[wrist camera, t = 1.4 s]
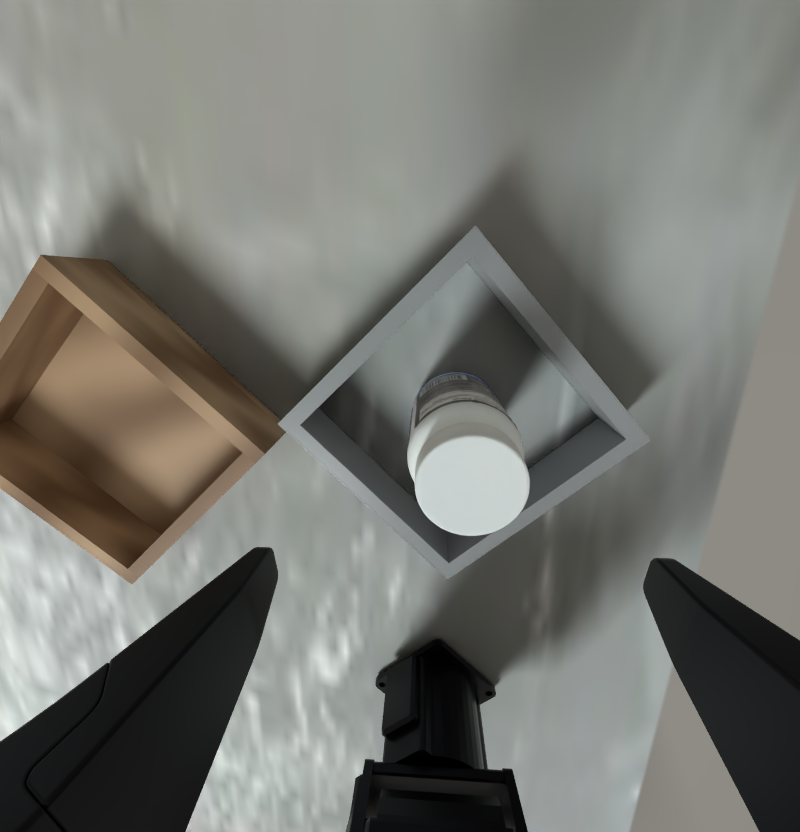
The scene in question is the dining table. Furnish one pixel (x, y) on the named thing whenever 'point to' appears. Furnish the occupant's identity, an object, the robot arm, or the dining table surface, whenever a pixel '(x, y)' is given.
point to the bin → (548, 477)
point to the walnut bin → (116, 415)
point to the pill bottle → (466, 456)
